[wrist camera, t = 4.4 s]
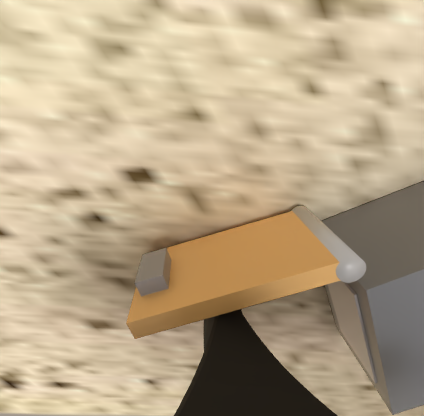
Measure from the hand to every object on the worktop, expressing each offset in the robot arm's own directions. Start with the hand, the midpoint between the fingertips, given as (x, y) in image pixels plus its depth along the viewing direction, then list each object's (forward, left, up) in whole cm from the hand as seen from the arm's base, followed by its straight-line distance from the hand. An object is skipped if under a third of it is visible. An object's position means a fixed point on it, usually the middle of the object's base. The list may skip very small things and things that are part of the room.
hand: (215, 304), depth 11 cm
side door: (+2, -2, -2) cm, 3 cm away
